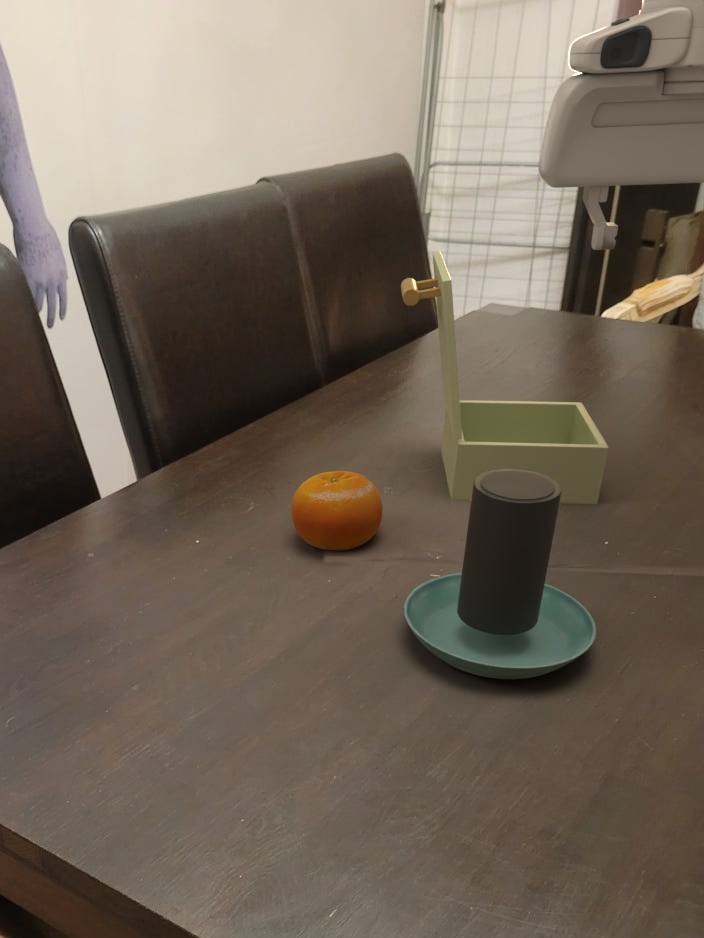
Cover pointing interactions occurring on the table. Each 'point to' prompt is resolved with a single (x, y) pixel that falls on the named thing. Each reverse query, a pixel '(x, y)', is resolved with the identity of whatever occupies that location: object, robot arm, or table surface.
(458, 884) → the table surface
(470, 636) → the saucer
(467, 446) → the chest
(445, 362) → the chest lid
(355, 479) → the fruit
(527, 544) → the black cup
